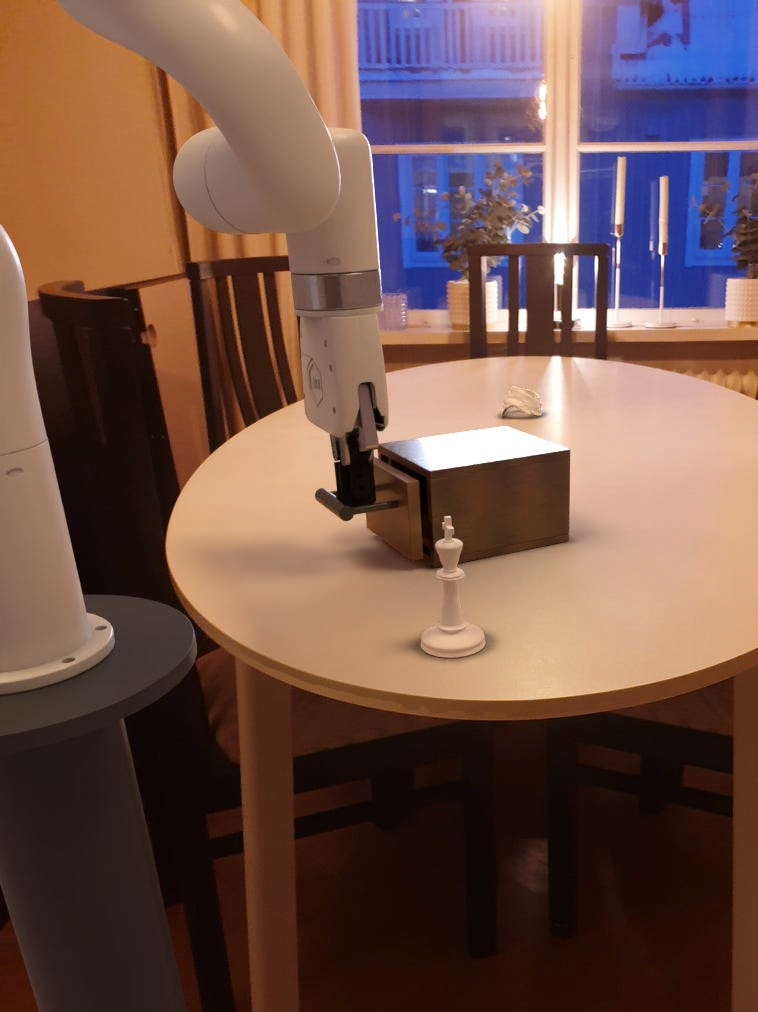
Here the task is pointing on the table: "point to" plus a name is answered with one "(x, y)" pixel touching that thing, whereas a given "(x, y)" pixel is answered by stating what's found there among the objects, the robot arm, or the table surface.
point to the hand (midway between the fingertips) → (357, 503)
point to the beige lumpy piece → (522, 401)
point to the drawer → (391, 508)
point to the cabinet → (490, 489)
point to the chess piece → (451, 606)
